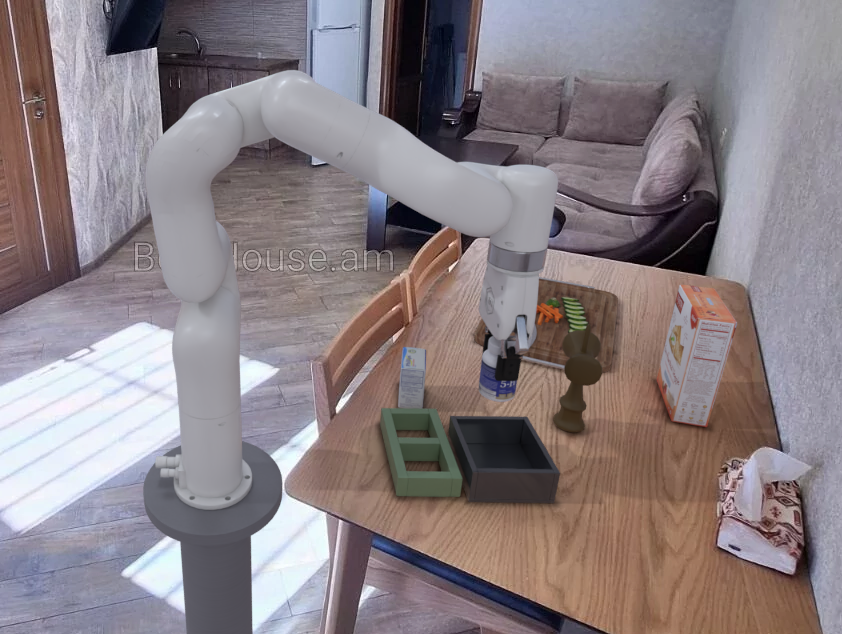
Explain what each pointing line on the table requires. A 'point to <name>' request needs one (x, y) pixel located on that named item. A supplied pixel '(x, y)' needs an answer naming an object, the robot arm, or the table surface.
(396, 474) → the rack
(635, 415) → the table surface
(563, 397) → the kendama
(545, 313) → the chopping board
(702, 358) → the cracker box
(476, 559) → the table surface
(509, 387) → the pill bottle
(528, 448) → the dark grey open bin
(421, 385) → the medicine box
